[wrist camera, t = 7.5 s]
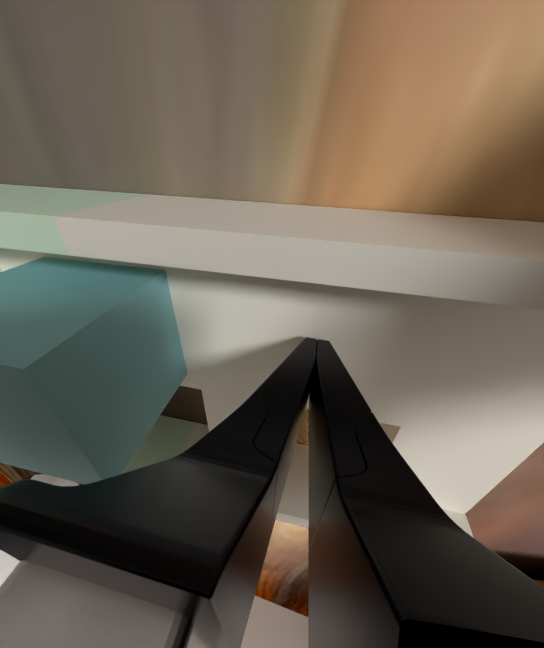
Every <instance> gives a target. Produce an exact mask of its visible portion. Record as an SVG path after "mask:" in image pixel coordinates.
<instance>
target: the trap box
mask: <svg viewBox="0 0 544 648" xmlns="http://www.w3.org/2000/svg"><path fill="white" fill-rule="evenodd" d="M42 257H49V258H58V259H67V260H76V261H86V262H95V263H104V264H113V265H122V266H131V267H140V268H149V269H158V270H165V272H166V277H167V281H168V286H169V291H170V295H171V300H172V304H173V309H174V313H175V318H176V323H177V327H178V332H179V336H180V341H181V346H182V350H183V355H184V359H185V364H186V369H187V373H188V374H187V375H186V377H185V378H184V380H183V381H182V383H181V384H180V386H184V387H190V388H195V389H200V390H202V395H203V401H204V406H205V412H206V418H207V423H208V425H206V424H201V423H196V422H191V421H186V420H181V419H177V418H172V417H167V416H162V415H160V416H159V418H158V419H157V421H156V422H155V424H154V425H153V427H152V428H151V430H150V431H149V433H148V434H147V436H146V437H145V439H144V440H143V442H142V443H141V445H140V446H139V448H138V449H137V451H136V452H135V454H134V455H133V457H132V458H131V460H130V461H129V463H128V464H127V466H126V467H125V469H124V471H123V472H122V474H123V473H126V472H129V471H132V470H136V469H139V468H142V467H145V466H149V465H152V464H155V463H158V462H161V461H165V460H168V459H171V458H173V457H175V456H177V455H179V454H181V453H182V452H184V451H185V450H187V449H188V448H190V447H191V446H192V445H194V444H195V443H196V442H197V441H199V440H200V439H201V438H202V437H204V436H205V435H206V434H207V433H208V432H210V431H211V430H212V429H213V428H215V427H216V426H217V425H218V424H219V423H221V422H222V421H223V420H224V419H226V418H227V417H228V416H229V415H230V414H231V413H233V412H234V411H235V410H236V409H237V408H238V407H240V406H241V405H242V404H243V403H244V402H245V401H246V400H247V399H248V398H249V397H250V396H251V395H252V393H253V392H254V391H255V390H257V388H258V387H259V386H260V385H261V384H262V383H263V382H264V381H265V380H266V379H267V378H268V377H269V376H270V375H271V373H272V372H273V371H274V370H275V369H276V368H277V367H278V366H279V365H280V364H281V363H282V362H283V361H284V360H285V359H286V358H287V357H288V355H289V354H290V353H291V352H292V351H293V350H294V349H295V348H296V347H297V346H298V345H299V344H300V343H301V342H302V341H303V340H304V339H305V338H306V337H309V338H315V339H317V340H318V339H322V340H328V341H330V343H331V344H332V346H333V348H334V349H335V351H336V353H337V354H338V356H339V358H340V359H341V361H342V362H343V364H344V366H345V367H346V369H347V371H348V372H349V374H350V376H351V377H352V379H353V381H354V382H355V384H356V386H357V387H358V389H359V391H360V392H361V394H362V396H363V397H364V399H365V401H366V402H367V404H368V406H369V407H370V409H371V412H373V414H374V415H375V417H376V419H377V420H378V422H379V424H380V425H381V427H382V428H383V430H384V431H385V433H386V434H387V436H388V438H389V439H390V440H391V442H392V443H393V445H394V446H395V447H396V449H397V450H398V451H399V453H400V454H401V456H402V457H403V458H404V460H405V461H406V462H407V464H408V465H409V466H410V468H411V469H412V470H413V472H414V473H415V474H416V476H417V477H418V478H419V479H420V481H421V482H422V483H423V485H424V486H425V487H426V489H427V490H428V491H429V493H430V494H431V495H432V497H433V498H434V499H435V501H436V502H437V503H438V504H439V506H440V507H441V508H442V509H443V510H444V512H445V513H446V514H447V515H448V516H449V517H450V518H451V519H452V520H453V521H454V522H455V523H456V524H457V525H458V526H459V527H460V528H462V529H463V530H464V531H465V532H466V533H468V534H469V535H470V536H472V537H473V534H472V532H471V529H470V526H469V523H468V521H467V518H466V515H465V513H466V512H467V511H469V510H470V509H471V508H472V507H473V506H474V505H475V504H476V503H477V502H478V501H480V500H481V499H482V498H483V497H484V496H485V495H486V494H487V493H488V492H489V491H491V490H492V489H493V488H494V487H495V486H496V485H497V484H498V483H499V482H500V481H502V480H503V479H504V478H505V477H506V476H507V475H508V474H509V473H510V472H511V471H513V470H514V469H515V468H516V467H517V466H518V465H519V464H520V463H521V462H523V461H524V460H525V459H526V458H527V457H528V456H529V455H530V454H531V453H532V452H534V451H535V450H536V449H537V448H538V447H539V446H540V445H541V444H542V443H543V442H544V222H532V221H518V220H504V219H490V218H475V217H461V216H447V215H433V214H419V213H404V212H390V211H376V210H362V209H348V208H333V207H319V206H305V205H291V204H277V203H262V202H248V201H234V200H220V199H206V198H192V197H177V196H163V195H149V194H135V193H121V192H106V191H92V190H78V189H64V188H50V187H35V186H21V185H7V184H0V272H3V271H5V270H8V269H11V268H14V267H17V266H19V265H22V264H25V263H28V262H30V261H33V260H36V259H39V258H42ZM306 409H308V410H309V398H308V402H307V406H306ZM275 520H279V521H282V522H286V523H290V524H294V525H298V526H302V527H306V528H309V446H308V445H303V444H298V443H296V446H295V450H294V453H293V457H292V461H291V464H290V468H289V472H288V475H287V479H286V483H285V486H284V490H283V494H282V497H281V501H280V504H279V508H278V512H277V515H276V519H275ZM473 538H474V537H473Z"/></svg>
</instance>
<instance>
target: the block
mask: <svg viewBox="0 0 544 648" xmlns="http://www.w3.org/2000/svg"><path fill="white" fill-rule="evenodd" d="M187 374H188V373H187V369H186V364H185V359H184V355H183V350H182V346H181V341H180V336H179V332H178V327H177V323H176V318H175V313H174V309H173V304H172V300H171V295H170V291H169V286H168V281H167V277H166V272H165V270H158V269H149V268H140V267H131V266H122V265H113V264H104V263H95V262H86V261H76V260H67V259H58V258H49V257H42V258H39V259H36V260H33V261H30V262H28V263H25V264H22V265H19V266H17V267H14V268H11V269H8V270H5V271H3V272H0V463H3V464H7V465H11V466H15V467H19V468H23V469H27V470H30V471H34V472H38V473H42V474H46V475H50V476H54V477H58V478H62V479H65V480H69V481H73V482H77V483H81V484H89V483H93V482H97V481H100V480H104V479H107V478H110V477H113V476H116V475H120V474H122V472H123V471H124V469H125V467H126V466H127V464H128V463H129V461H130V460H131V458H132V457H133V455H134V454H135V452H136V451H137V449H138V448H139V446H140V445H141V443H142V442H143V440H144V439H145V437H146V436H147V434H148V433H149V431H150V430H151V428H152V427H153V425H154V424H155V422H156V421H157V419H158V418H159V416H160V415H161V413H162V411H163V410H164V408H165V407H166V405H167V404H168V402H169V401H170V399H171V398H172V396H173V395H174V393H175V392H176V390H177V389H178V387H179V386H180V384H181V383H182V381H183V380H184V378H185V377H186V375H187Z"/></svg>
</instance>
